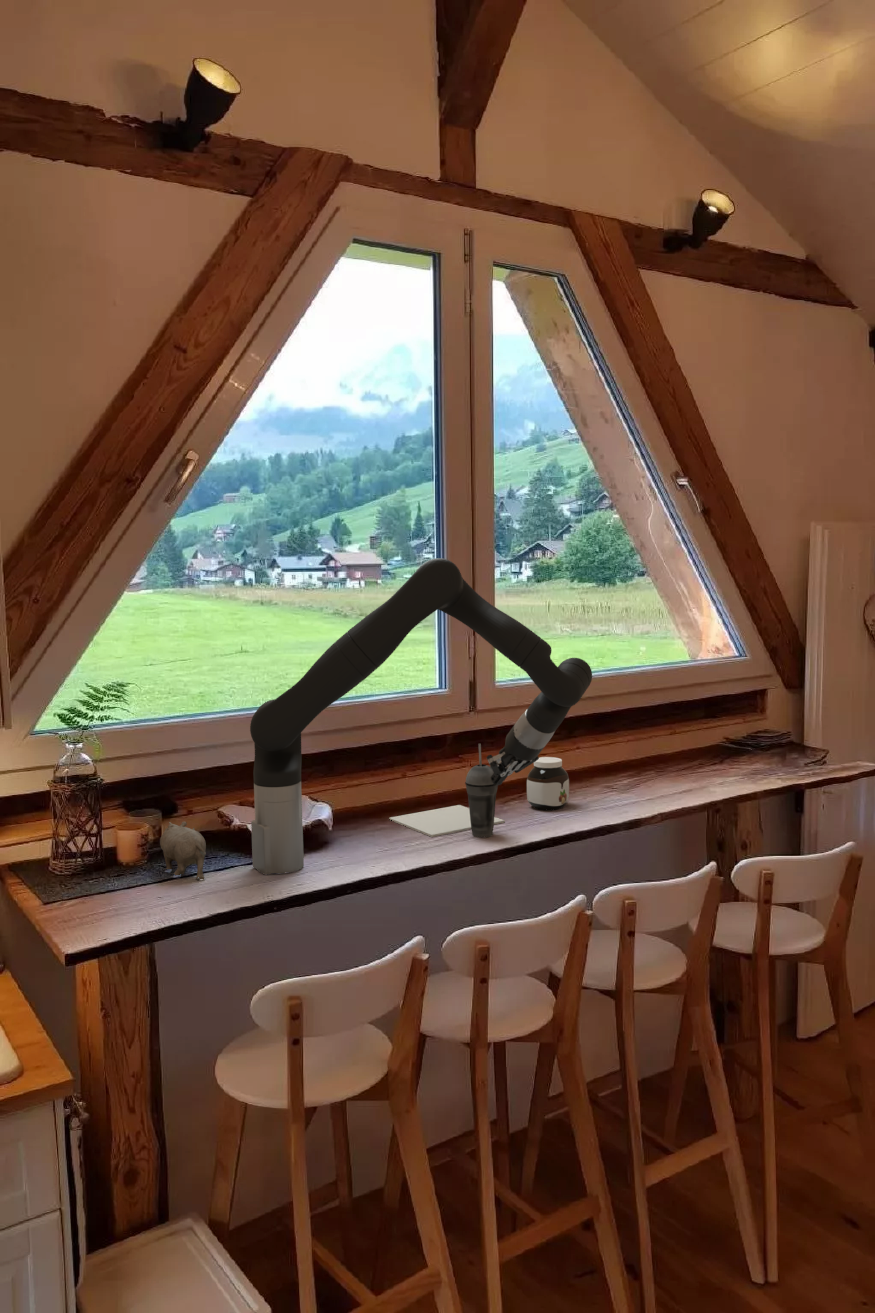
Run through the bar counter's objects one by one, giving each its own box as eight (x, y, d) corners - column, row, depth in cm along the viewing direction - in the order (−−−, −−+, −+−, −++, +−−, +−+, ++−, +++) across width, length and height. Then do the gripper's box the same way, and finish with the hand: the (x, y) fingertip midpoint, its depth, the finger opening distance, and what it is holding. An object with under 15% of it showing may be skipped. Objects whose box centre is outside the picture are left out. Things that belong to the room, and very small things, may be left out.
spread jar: (544, 813, 237) (544, 765, 236) (511, 805, 246) (511, 758, 245) (579, 805, 245) (579, 758, 244) (546, 797, 254) (545, 751, 253)
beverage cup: (471, 840, 216) (470, 748, 214) (461, 831, 223) (460, 742, 221) (503, 837, 218) (502, 746, 216) (492, 829, 225) (491, 740, 223)
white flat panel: (431, 837, 219) (431, 835, 219) (389, 819, 234) (389, 817, 234) (504, 822, 230) (504, 820, 230) (459, 806, 245) (459, 804, 245)
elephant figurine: (168, 877, 186) (165, 801, 193) (158, 900, 197) (155, 828, 204) (210, 875, 189) (206, 801, 196) (198, 898, 200) (194, 827, 207)
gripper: (548, 715, 209) (512, 763, 220) (497, 721, 202) (462, 771, 213) (564, 744, 205) (527, 792, 216) (513, 752, 198) (477, 800, 209)
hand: (495, 781), depth 215 cm, fingers closed
